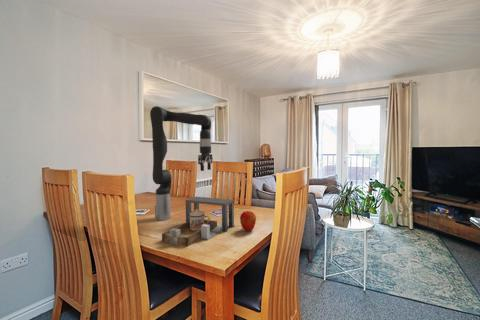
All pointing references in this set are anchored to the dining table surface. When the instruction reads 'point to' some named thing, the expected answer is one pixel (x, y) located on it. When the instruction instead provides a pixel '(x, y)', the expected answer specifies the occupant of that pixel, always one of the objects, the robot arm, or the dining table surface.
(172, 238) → the sled walnut
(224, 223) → the shelf
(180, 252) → the dining table surface
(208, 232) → the light grey block
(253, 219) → the apple
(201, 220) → the teacup with lid
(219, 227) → the strip grey far
